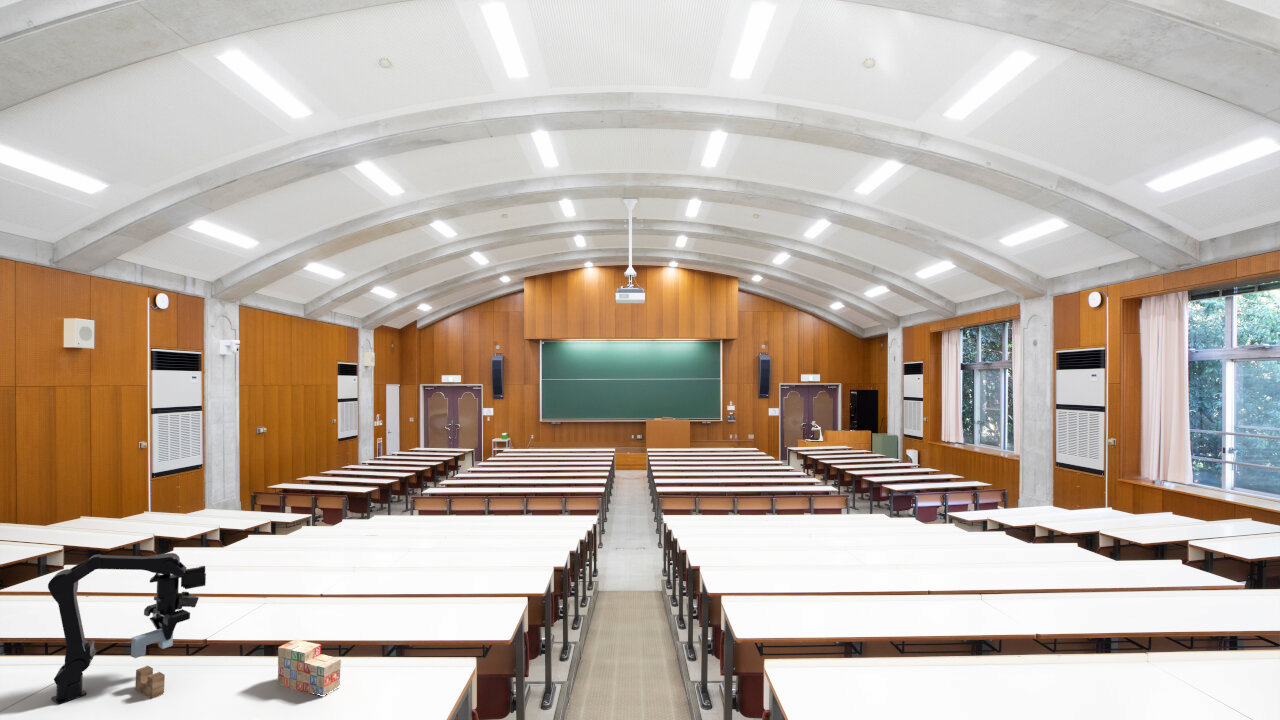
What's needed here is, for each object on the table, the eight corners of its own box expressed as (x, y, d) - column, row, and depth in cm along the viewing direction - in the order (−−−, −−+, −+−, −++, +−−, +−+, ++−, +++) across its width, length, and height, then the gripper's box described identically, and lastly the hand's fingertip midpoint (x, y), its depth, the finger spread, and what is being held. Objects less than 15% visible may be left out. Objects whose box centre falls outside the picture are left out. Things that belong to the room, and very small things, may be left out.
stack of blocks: (340, 688, 177) (341, 649, 178) (323, 698, 171) (324, 658, 172) (295, 675, 185) (296, 638, 186) (276, 684, 179) (277, 646, 180)
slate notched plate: (134, 658, 178) (135, 639, 178) (130, 656, 180) (131, 637, 180) (172, 645, 187) (173, 627, 187) (168, 643, 188) (169, 625, 189)
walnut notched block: (135, 688, 177) (136, 669, 177) (147, 684, 180) (147, 665, 180) (152, 698, 171) (152, 679, 172) (163, 693, 174) (164, 674, 174)
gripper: (208, 589, 190) (207, 634, 189) (183, 580, 199) (181, 623, 198) (169, 600, 180) (167, 648, 179) (144, 590, 189) (142, 636, 188)
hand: (165, 638), depth 187 cm, fingers closed on slate notched plate, 3 cm apart
